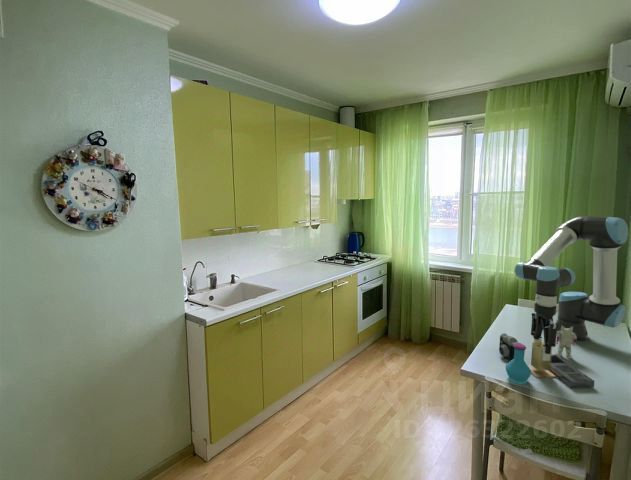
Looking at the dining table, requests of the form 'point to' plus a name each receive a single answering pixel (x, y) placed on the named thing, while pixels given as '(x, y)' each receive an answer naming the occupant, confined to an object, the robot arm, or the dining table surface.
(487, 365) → the dining table surface
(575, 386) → the grey slotted tray
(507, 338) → the camera
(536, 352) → the block
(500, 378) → the dining table surface
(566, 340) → the figurine
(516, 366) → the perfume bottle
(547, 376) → the cork mat
